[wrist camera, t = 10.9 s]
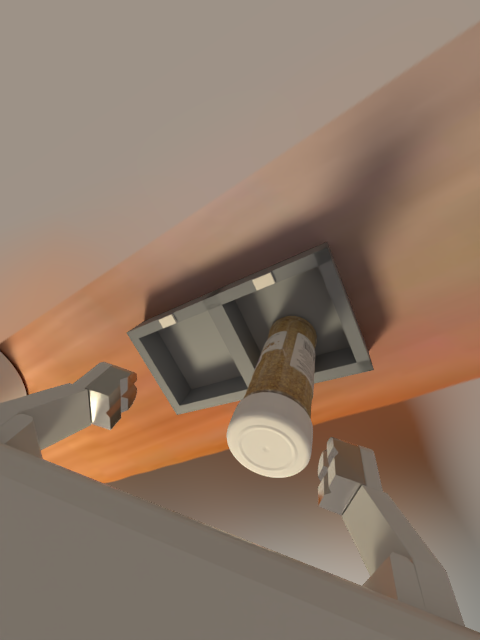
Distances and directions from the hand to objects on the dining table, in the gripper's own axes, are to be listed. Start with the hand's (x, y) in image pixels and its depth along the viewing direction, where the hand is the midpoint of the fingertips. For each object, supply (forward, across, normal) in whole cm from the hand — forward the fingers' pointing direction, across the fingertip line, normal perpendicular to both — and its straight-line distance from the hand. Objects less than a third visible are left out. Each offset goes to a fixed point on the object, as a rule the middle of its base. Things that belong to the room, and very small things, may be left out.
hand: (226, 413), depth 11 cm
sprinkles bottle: (+16, -3, +4) cm, 16 cm away
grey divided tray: (+16, +2, +5) cm, 17 cm away
